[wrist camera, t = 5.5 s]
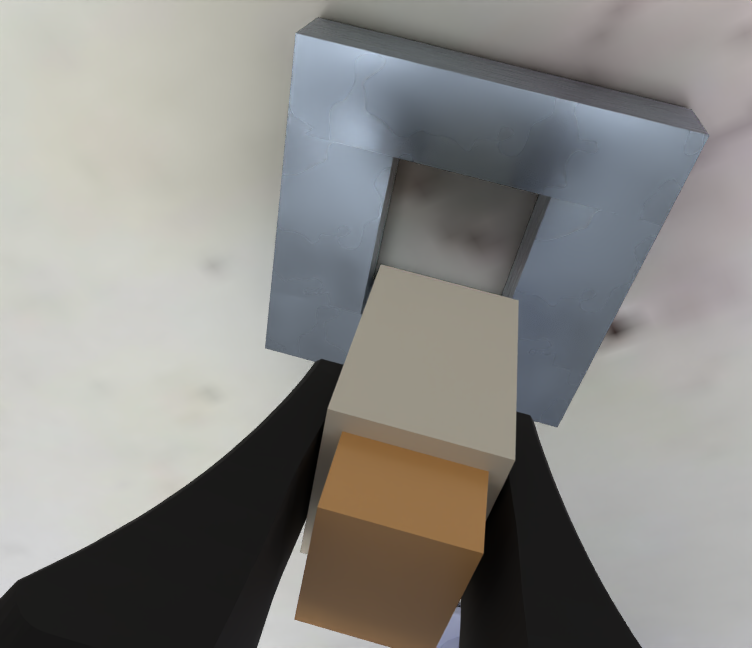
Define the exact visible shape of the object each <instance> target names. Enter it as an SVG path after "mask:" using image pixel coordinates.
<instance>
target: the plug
mask: <svg viewBox="0 0 752 648" xmlns="http://www.w3.org/2000/svg"><path fill="white" fill-rule="evenodd" d="M518 307H519V300H515V299H511V298H508V297H504V296H500V295H496V294H492V293H489V292H485V291H481V290H477V289H473V288H470V287H466V286H462V285H458V284H454V283H450V282H447V281H443V280H439V279H435V278H431V277H428V276H424V275H420V274H416V273H412V272H408V271H405V270H401V269H397V268H393V267H389V266H386V265H382V264H381V265H380V268H379V270H378V273H377V276H376V279H375V281H374V284H373V287H372V289H371V292H370V295H369V298H368V300H367V303H366V306H365V308H364V311H363V314H362V317H361V319H360V322H359V325H358V327H357V330H356V333H355V336H354V338H353V341H352V344H351V346H350V349H349V352H348V354H347V357H346V360H345V363H344V365H343V368H342V371H341V373H340V376H339V379H338V382H337V384H336V387H335V390H334V392H333V395H332V398H331V401H330V403H329V406H328V409H327V414H326V419H325V424H324V430H323V435H322V440H321V445H320V451H319V456H318V461H317V466H316V472H315V477H314V482H313V487H312V493H311V498H310V503H309V508H308V514H307V519H306V524H305V529H304V535H303V540H302V545H301V551H300V552H301V553H305V554H308V555H307V560H306V565H305V570H304V575H303V580H302V585H301V590H300V595H299V600H298V604H297V609H296V614H295V619H294V620H298V621H301V622H305V623H308V624H312V625H315V626H319V627H322V628H325V629H329V630H332V631H336V632H339V633H343V634H346V635H350V636H353V637H357V638H360V639H363V640H367V641H370V642H374V643H377V644H381V645H384V646H388V647H391V648H436V647H437V645H438V643H439V641H440V639H441V637H442V635H443V633H444V631H445V629H446V627H447V625H448V623H449V621H450V619H451V617H452V615H453V613H454V611H455V609H456V607H457V605H458V603H459V601H460V599H461V597H462V595H463V593H464V591H465V589H466V587H467V585H468V583H469V581H470V579H471V577H472V575H473V573H474V572H475V570H476V568H477V566H478V564H479V562H480V560H481V558H482V556H483V553H484V538H485V522H486V520H487V518H488V516H489V514H490V512H491V509H492V507H493V505H494V503H495V501H496V499H497V497H498V495H499V493H500V491H501V489H502V487H503V485H504V482H505V480H506V478H507V476H508V474H509V472H510V470H511V468H512V466H513V464H514V462H515V448H516V401H517V354H518Z"/></svg>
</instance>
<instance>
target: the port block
mask: <svg viewBox="0 0 752 648" xmlns="http://www.w3.org/2000/svg"><path fill="white" fill-rule="evenodd" d="M708 137H709V134H708V133H707V131H706V130H705V128H704V127H703V125H702V124H701V122H700V121H699V119H698V118H697V116H696V115H695V113H694V112H693V110H692V109H689V108H685V107H681V106H677V105H673V104H669V103H665V102H661V101H657V100H653V99H649V98H644V97H640V96H636V95H632V94H628V93H624V92H620V91H616V90H612V89H608V88H604V87H600V86H596V85H592V84H587V83H583V82H579V81H575V80H571V79H567V78H563V77H559V76H555V75H551V74H547V73H543V72H539V71H535V70H530V69H526V68H522V67H518V66H514V65H510V64H506V63H502V62H498V61H494V60H490V59H486V58H482V57H478V56H473V55H469V54H465V53H461V52H457V51H453V50H449V49H445V48H441V47H437V46H433V45H429V44H425V43H421V42H416V41H412V40H408V39H404V38H400V37H396V36H392V35H388V34H384V33H380V32H376V31H372V30H368V29H364V28H359V27H355V26H351V25H347V24H343V23H339V22H335V21H331V20H327V19H323V18H319V17H318V18H316V19H315V20H313V21H312V22H311V23H309V24H308V25H307V26H305V27H304V28H302V29H301V30H300V31H298V32H297V33H296V37H295V47H294V57H293V67H292V78H291V88H290V98H289V109H288V119H287V129H286V139H285V150H284V160H283V170H282V180H281V191H280V201H279V211H278V221H277V232H276V242H275V252H274V262H273V273H272V283H271V293H270V303H269V314H268V324H267V334H266V344H265V348H267V349H270V350H274V351H278V352H281V353H285V354H289V355H292V356H296V357H300V358H303V359H307V360H311V361H314V362H315V361H318V360H320V359H324V360H328V361H332V362H336V363H339V364H343V365H344V363H345V360H346V357H347V354H348V352H349V349H350V346H351V344H352V341H353V338H354V336H355V333H356V330H357V327H358V325H359V322H360V319H361V317H362V314H363V311H364V308H365V306H366V303H367V300H368V298H369V295H370V292H371V289H372V287H373V284H374V281H373V278H374V274H375V269H376V264H377V260H378V255H379V250H380V246H381V241H382V237H383V232H384V227H385V223H386V218H387V213H388V209H389V204H390V199H391V195H392V190H393V186H394V181H395V176H396V172H397V167H398V162H399V158H400V159H404V160H407V161H411V162H415V163H419V164H423V165H427V166H431V167H435V168H439V169H443V170H447V171H451V172H455V173H459V174H462V175H466V176H470V177H474V178H478V179H482V180H486V181H490V182H494V183H498V184H502V185H506V186H510V187H514V188H518V189H521V190H525V191H529V192H533V193H537V194H539V196H538V199H537V202H536V204H535V207H534V210H533V212H532V215H531V218H530V220H529V223H528V226H527V229H526V231H525V234H524V237H523V239H522V242H521V245H520V247H519V250H518V253H517V255H516V258H515V261H514V263H513V266H512V269H511V272H510V274H509V277H508V280H507V282H506V285H505V288H504V290H503V293H502V296H504V297H508V298H511V299H515V300H519V307H518V354H517V401H516V411H517V412H520V413H524V414H528V415H530V416H531V417H532V419H533V421H536V422H540V423H543V424H547V425H551V426H554V427H558V425H559V423H560V421H561V420H562V418H563V416H564V414H565V412H566V410H567V408H568V406H569V404H570V402H571V400H572V398H573V396H574V395H575V393H576V391H577V389H578V387H579V385H580V383H581V381H582V379H583V377H584V375H585V373H586V371H587V370H588V368H589V366H590V364H591V362H592V360H593V358H594V356H595V354H596V352H597V350H598V348H599V346H600V345H601V343H602V341H603V339H604V337H605V335H606V333H607V331H608V329H609V327H610V325H611V323H612V321H613V320H614V318H615V316H616V314H617V312H618V310H619V308H620V306H621V304H622V302H623V300H624V298H625V296H626V295H627V293H628V291H629V289H630V287H631V285H632V283H633V281H634V279H635V277H636V275H637V273H638V271H639V270H640V268H641V266H642V264H643V262H644V260H645V258H646V256H647V254H648V252H649V250H650V248H651V246H652V245H653V243H654V241H655V239H656V237H657V235H658V233H659V231H660V229H661V227H662V225H663V223H664V221H665V220H666V218H667V216H668V214H669V212H670V210H671V208H672V206H673V204H674V202H675V200H676V198H677V196H678V195H679V193H680V191H681V189H682V187H683V185H684V183H685V181H686V179H687V177H688V175H689V173H690V171H691V170H692V168H693V166H694V164H695V162H696V160H697V158H698V156H699V154H700V152H701V150H702V148H703V146H704V145H705V143H706V141H707V139H708Z"/></svg>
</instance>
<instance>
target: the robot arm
mask: <svg viewBox="0 0 752 648" xmlns="http://www.w3.org/2000/svg"><path fill="white" fill-rule="evenodd" d="M342 368H343V364H339V363H336V362H332V361H328V360H324V359H320V360H318V361H315V363H314V364H313V366H312V367H311V369H310V370H309V371H308V372H307V374H306V375H305V376H304V378H303V379H302V380H301V381H300V382H299V384H298V385H297V386H296V387H295V388H294V389H293V390H292V392H291V393H290V394H289V395H288V396H287V397H286V398H285V399H284V400H283V402H282V403H281V404H280V405H279V406H278V407H277V408H276V409H275V410H274V411H273V412H272V413H271V414H270V415H269V416H268V417H267V418H266V419H265V420H264V421H263V422H262V423H261V424H260V425H259V426H258V427H257V428H255V429H254V430H253V431H252V432H251V433H250V434H249V435H248V436H247V437H245V438H244V439H243V440H242V441H241V442H240V443H239V444H238V445H236V446H235V447H234V448H233V449H232V450H231V451H230V452H229V453H227V454H226V455H225V456H224V457H223V458H221V459H220V460H219V461H218V462H216V463H215V464H214V465H213V466H211V467H210V468H209V469H208V470H206V471H205V472H204V473H202V474H201V475H200V476H198V477H197V478H196V479H194V480H193V481H192V482H190V483H189V484H187V485H186V486H185V487H183V488H182V489H180V490H179V491H177V492H176V493H174V494H173V495H171V496H170V497H169V498H167V499H166V500H164V501H163V502H161V503H160V504H158V505H157V506H155V507H154V508H152V509H151V510H149V511H147V512H146V513H144V514H143V515H141V516H139V517H138V518H136V519H134V520H133V521H131V522H129V523H127V524H126V525H124V526H122V527H120V528H119V529H117V530H115V531H113V532H112V533H110V534H108V535H106V536H105V537H103V538H101V539H99V540H98V541H96V542H94V543H92V544H91V545H89V546H87V547H85V548H83V549H81V550H79V551H77V552H75V553H73V554H71V555H69V556H67V557H65V558H63V559H61V560H59V561H57V562H55V563H53V564H51V565H49V566H47V567H44V568H42V569H40V570H38V571H36V572H34V573H32V574H30V575H28V576H26V577H24V578H22V579H20V580H18V581H17V582H16V583H15V584H14V585H13V586H12V587H11V588H10V589H9V590H8V591H7V592H6V593H5V594H4V595H3V596H2V597H1V598H0V648H257V646H258V643H259V640H260V637H261V633H262V630H263V627H264V624H265V621H266V618H267V615H268V612H269V609H270V606H271V603H272V600H273V597H274V594H275V592H276V589H277V587H278V584H279V581H280V579H281V576H282V574H283V572H284V569H285V567H286V565H287V562H288V560H289V558H290V555H291V553H292V551H293V548H294V546H295V544H296V541H297V539H298V537H299V534H300V532H301V530H302V527H303V525H304V523H305V521H306V518H307V514H308V508H309V503H310V498H311V493H312V487H313V482H314V477H315V472H316V466H317V461H318V456H319V451H320V445H321V440H322V435H323V430H324V424H325V419H326V414H327V409H328V406H329V403H330V401H331V398H332V395H333V392H334V390H335V387H336V384H337V382H338V379H339V376H340V373H341V371H342ZM436 648H642V647H641V646H640V644H639V643H638V641H637V640H636V638H635V637H634V635H633V634H632V632H631V631H630V629H629V627H628V626H627V624H626V622H625V621H624V619H623V618H622V616H621V614H620V613H619V611H618V610H617V608H616V606H615V605H614V603H613V601H612V599H611V598H610V596H609V594H608V592H607V591H606V589H605V587H604V585H603V584H602V582H601V580H600V578H599V576H598V574H597V573H596V571H595V569H594V567H593V565H592V563H591V561H590V559H589V557H588V555H587V553H586V551H585V549H584V547H583V545H582V543H581V541H580V539H579V537H578V535H577V533H576V530H575V528H574V526H573V524H572V522H571V520H570V517H569V515H568V513H567V510H566V508H565V505H564V503H563V501H562V498H561V496H560V494H559V491H558V489H557V486H556V484H555V481H554V479H553V476H552V474H551V471H550V468H549V465H548V463H547V460H546V457H545V454H544V452H543V449H542V446H541V443H540V440H539V437H538V434H537V431H536V427H535V424H534V421H533V419H532V417H531V416H530V415H528V414H524V413H520V412H517V411H516V448H515V462H514V464H513V466H512V468H511V470H510V472H509V474H508V476H507V478H506V480H505V482H504V485H503V487H502V489H501V491H500V493H499V495H498V497H497V499H496V501H495V503H494V505H493V507H492V509H491V512H490V514H489V516H488V518H487V520H486V522H485V538H484V553H483V556H482V558H481V560H480V562H479V564H478V566H477V568H476V570H475V572H474V573H473V575H472V577H471V579H470V581H469V583H468V585H467V587H466V589H465V591H464V593H463V595H462V597H461V608H460V607H456V609H455V611H454V613H453V615H452V617H451V619H450V621H449V623H448V625H447V627H446V629H445V631H444V633H443V635H442V637H441V639H440V641H439V643H438V645H437V647H436Z"/></svg>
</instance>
